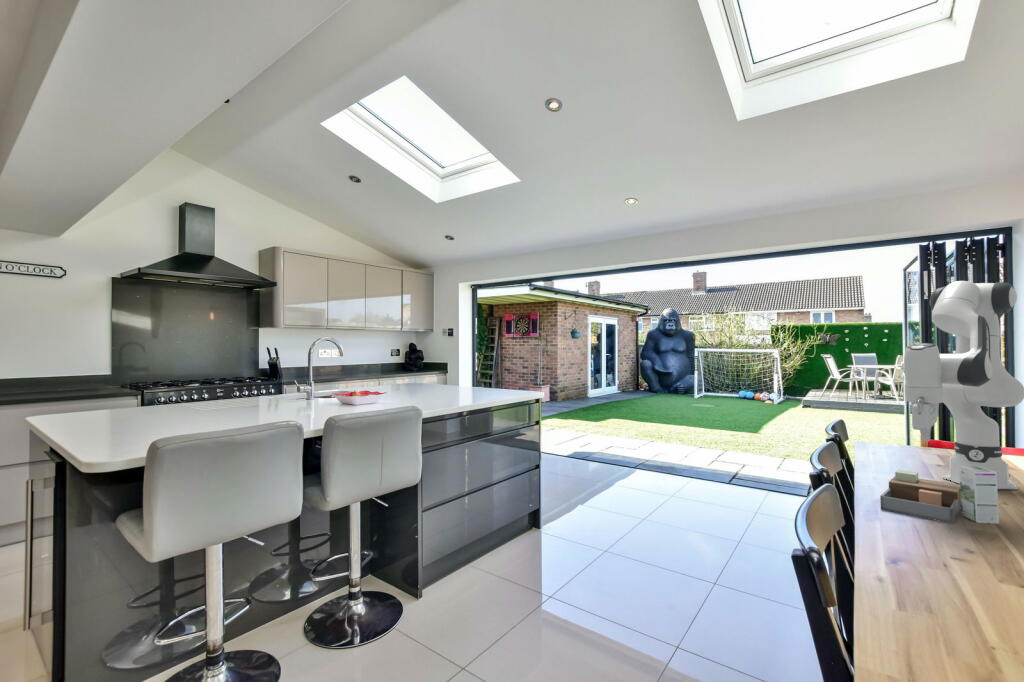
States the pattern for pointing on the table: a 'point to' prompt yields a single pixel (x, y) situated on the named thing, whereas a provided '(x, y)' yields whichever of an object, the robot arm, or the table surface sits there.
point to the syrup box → (979, 494)
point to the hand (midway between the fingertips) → (925, 440)
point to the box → (918, 508)
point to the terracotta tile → (930, 497)
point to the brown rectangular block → (912, 489)
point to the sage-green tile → (906, 476)
